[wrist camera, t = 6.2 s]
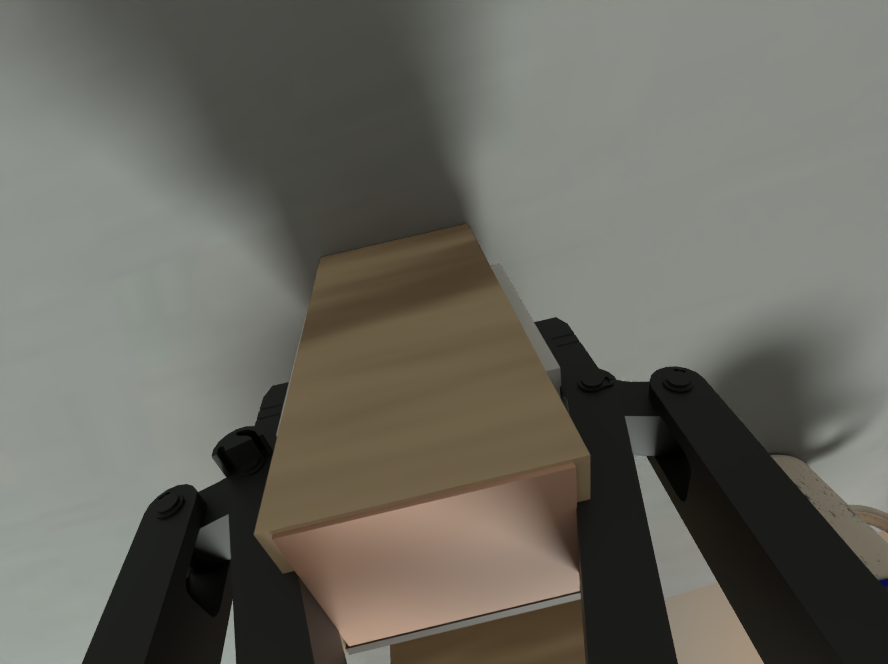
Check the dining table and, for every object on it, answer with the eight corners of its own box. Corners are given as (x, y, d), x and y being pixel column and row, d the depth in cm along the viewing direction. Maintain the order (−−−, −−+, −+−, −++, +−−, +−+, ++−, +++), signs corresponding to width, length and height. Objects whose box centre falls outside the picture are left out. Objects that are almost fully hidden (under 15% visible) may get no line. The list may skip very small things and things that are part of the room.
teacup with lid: (672, 544, 34) (794, 747, 24) (690, 466, 29) (853, 683, 19) (825, 509, 34) (1006, 696, 24) (869, 426, 29) (1121, 620, 19)
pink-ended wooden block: (320, 257, 18) (251, 541, 8) (467, 223, 18) (593, 460, 8) (357, 355, 20) (343, 659, 10) (484, 326, 21) (593, 599, 10)
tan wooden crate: (361, 509, 26) (353, 832, 16) (557, 463, 27) (685, 751, 16) (407, 605, 33) (425, 877, 22) (564, 567, 33) (657, 820, 22)
